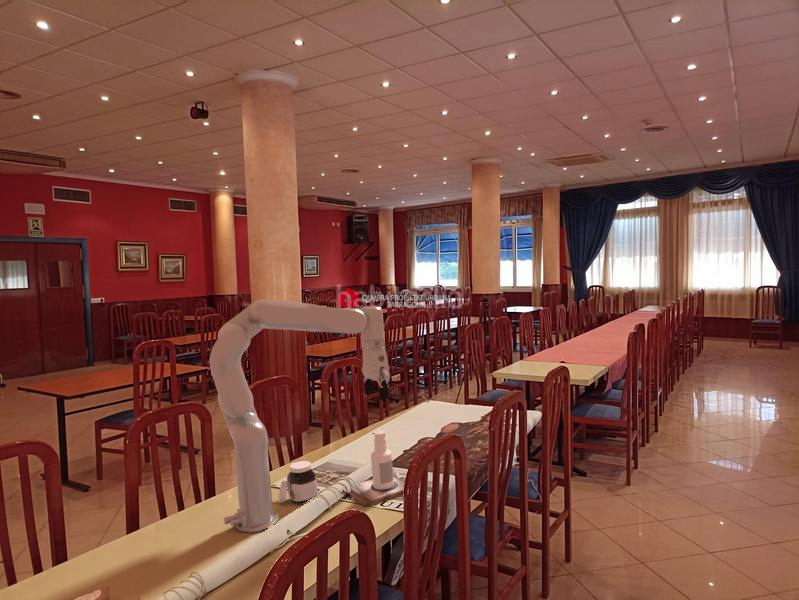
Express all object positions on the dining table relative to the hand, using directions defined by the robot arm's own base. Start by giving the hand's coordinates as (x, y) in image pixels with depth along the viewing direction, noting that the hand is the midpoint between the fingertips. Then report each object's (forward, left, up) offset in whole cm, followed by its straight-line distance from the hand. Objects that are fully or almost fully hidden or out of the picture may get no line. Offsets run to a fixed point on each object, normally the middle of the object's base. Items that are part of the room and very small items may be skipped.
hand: (376, 396), depth 177 cm
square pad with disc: (-2, +1, -32) cm, 32 cm away
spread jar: (-26, +12, -32) cm, 43 cm away
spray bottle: (0, 0, -30) cm, 30 cm away
